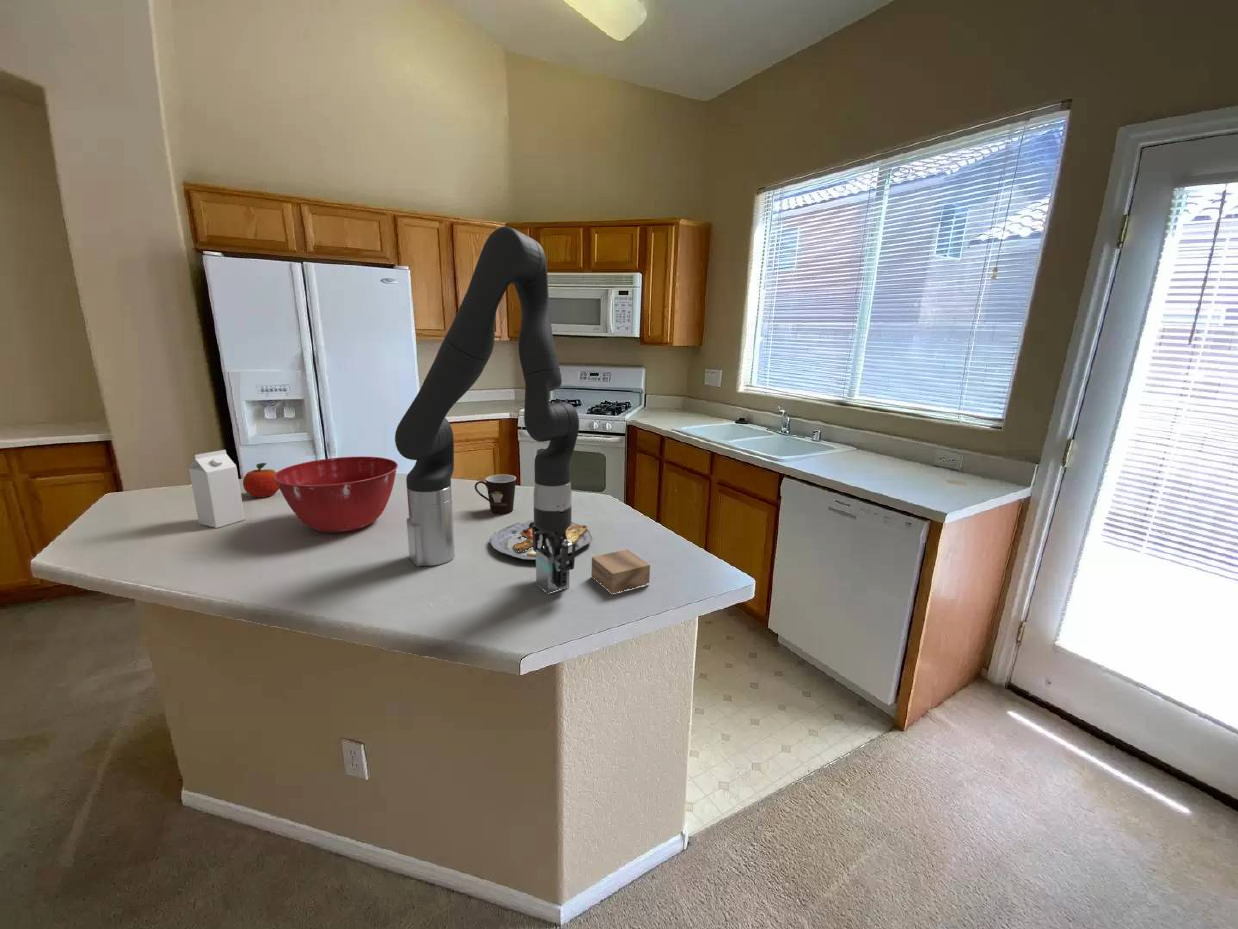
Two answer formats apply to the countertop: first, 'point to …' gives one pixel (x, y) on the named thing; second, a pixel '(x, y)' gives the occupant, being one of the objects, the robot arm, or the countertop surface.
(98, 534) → the countertop surface
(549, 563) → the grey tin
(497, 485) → the coffee mug
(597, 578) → the tan block
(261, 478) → the fruit
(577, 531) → the food plate
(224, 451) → the milk carton
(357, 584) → the countertop surface
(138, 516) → the countertop surface
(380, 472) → the mixing bowl
